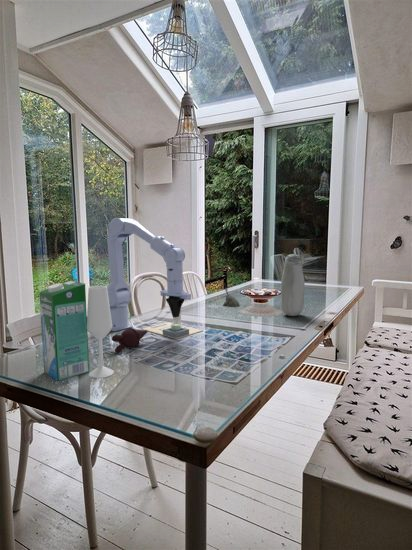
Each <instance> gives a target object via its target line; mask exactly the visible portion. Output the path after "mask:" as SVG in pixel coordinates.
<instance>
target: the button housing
mask: <svg viewBox="0 0 412 550" xmlns="http://www.w3.org/2000/svg"><path fill="white" fill-rule="evenodd" d="M187 334H189V329H186V328H182V327H181V330H180V331H177V332H174V331H171V328H167V329H164V330H163V335H162V336H164V335H167V336H170V337H169V338H171V337H174V338H173V339H175V338H177V337H180V336H184V335H187ZM167 336H166V337H167Z"/></svg>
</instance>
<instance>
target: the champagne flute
mask: <svg viewBox="0 0 412 550" xmlns="http://www.w3.org/2000/svg"><path fill="white" fill-rule="evenodd" d="M107 286H108V285H92V286H89V287H88V294H87V308H86V311H87V332H88V333H89V335H91V336H92V337H93V338H95V339H97V348H98V349H97V352H98V353H97V354H98V367H96V368H95V369H93V370H92V371H89V372H88V373H89V374H88V376H89V377H91V378H95V379H97V378H100V379H101V378H106V377H110V376H112V375H113V374H114V373H115V370H113V369H111V368H109V367H106V366H104V350H103V349H104V348H103V339H104V338H105V337H106V336H107V335H108V334H110V332H111V328H112V320H111V313H110V306H109V298H108V291H107Z"/></svg>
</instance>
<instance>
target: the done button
mask: <svg viewBox="0 0 412 550" xmlns="http://www.w3.org/2000/svg"><path fill="white" fill-rule="evenodd" d="M181 325H182V324H181ZM181 325H180V324H172V325H171V331H174V332H177V331H180V330H181Z"/></svg>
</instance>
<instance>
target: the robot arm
mask: <svg viewBox="0 0 412 550" xmlns="http://www.w3.org/2000/svg"><path fill="white" fill-rule="evenodd" d="M107 227H108V233H107V237H106V239H107V240H106V241H107V253H108V264H109V279H110V283H108V285H106V286H107V291H108V298H109V306H110V313H111V320H112V328H111V330H110V332H117V331H121V330H126V329H128V328H133V327H134V325H132V324H129V302H131V300H132V293H131V291H130V285H129V284H128V283H127V282H126V281H125V280H126V279H125V269H124V254H123V253H124V252H123V242H124V241H125V240H126V238H128V237H130V236H132V235H136V236H137V237H139V238H140V239H142V240H144V241H145V242H147V243H148V244H149V246H150V247H149V248H150V249H151V251H152V250H153V251H154V252H155V253H157V254H158V255H159V256H161V258H162V259H163V260H164V262H165V264H166V280H167V281H166V283H167V284H166V285H167V289H163V290H160V292H159V293H160V296H161V297H163V296H164V297H168V298H165V301H166V302H167V304H168V306H169V308H170V309H169V310H170V312H171V316H172V318H173V317H179V313H180V309H181V310H182V306H183V303H184V302H185V300H186V301H189V300H191V299H192V294H191V293H188V292H185V290H184V281H183V280H184V279H183V278H184V277H183V276H184V274H183V261H184V260H185V258H186V253H185V251H184V249H182V247H179V246H175V243H171V242H169V241H168V240H166V237H165V236H163V235H162V236H160V235H156V236H155V235H154V234H153V233H151V232H150V231H149V230H148V229H147V228H145V227H144V226H143V225H141V223H140V222H139V221H138V220H135V219H134V218H132V217H130V218H126V217H125V218H122V217H114V218H112V219H111V220H110V222H108V225H107Z"/></svg>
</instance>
